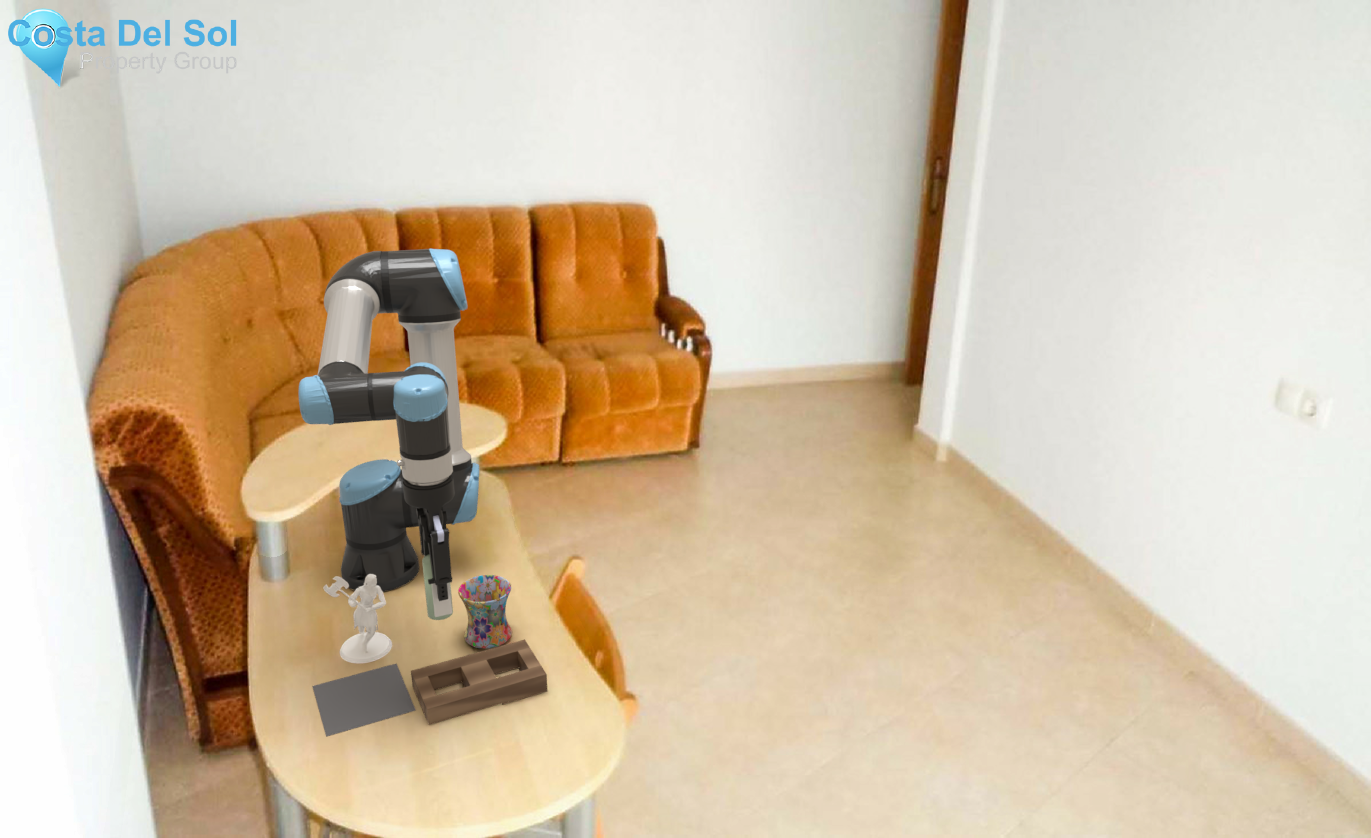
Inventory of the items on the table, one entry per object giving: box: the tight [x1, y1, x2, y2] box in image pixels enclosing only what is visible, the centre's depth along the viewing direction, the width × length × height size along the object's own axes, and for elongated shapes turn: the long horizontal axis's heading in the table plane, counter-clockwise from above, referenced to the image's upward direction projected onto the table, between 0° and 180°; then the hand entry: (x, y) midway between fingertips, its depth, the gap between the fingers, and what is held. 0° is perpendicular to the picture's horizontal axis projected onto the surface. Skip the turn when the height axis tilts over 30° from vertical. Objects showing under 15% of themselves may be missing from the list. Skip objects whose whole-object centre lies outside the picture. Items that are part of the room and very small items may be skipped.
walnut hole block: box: [410, 639, 548, 726], centre depth 166 cm, size 11×20×4 cm, turn 118°
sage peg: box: [421, 555, 454, 621], centre depth 159 cm, size 4×4×10 cm
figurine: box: [323, 574, 393, 664], centre depth 174 cm, size 10×10×18 cm
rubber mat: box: [312, 662, 417, 737], centre depth 164 cm, size 14×14×1 cm
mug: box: [457, 574, 513, 650], centre depth 180 cm, size 12×9×11 cm
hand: (440, 606), depth 160 cm, fingers closed on sage peg, 4 cm apart
